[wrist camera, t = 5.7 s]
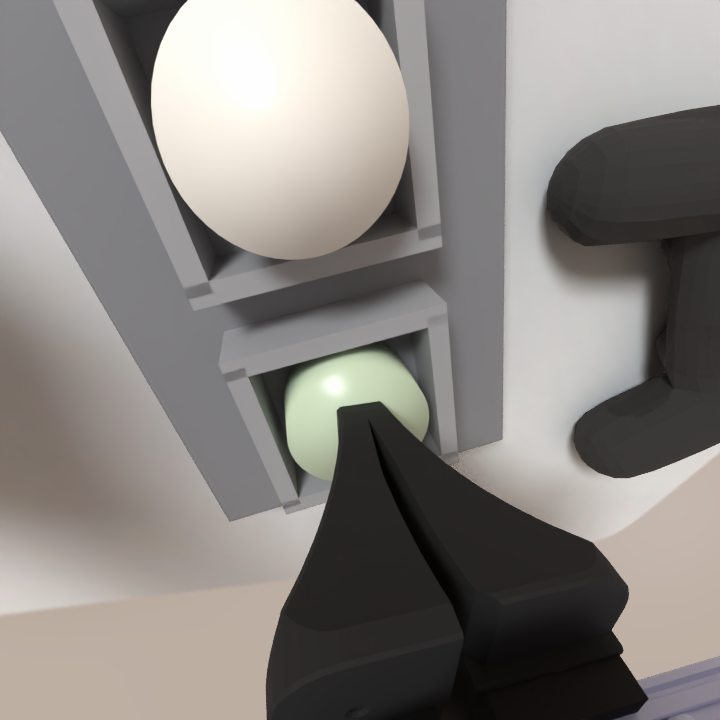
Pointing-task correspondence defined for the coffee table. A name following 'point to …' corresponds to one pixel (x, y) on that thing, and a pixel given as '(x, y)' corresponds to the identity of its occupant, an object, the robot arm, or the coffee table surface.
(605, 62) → the coffee table surface
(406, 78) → the button panel
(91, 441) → the coffee table surface
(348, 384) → the sage button
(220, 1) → the offwhite button
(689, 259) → the gaming controller
